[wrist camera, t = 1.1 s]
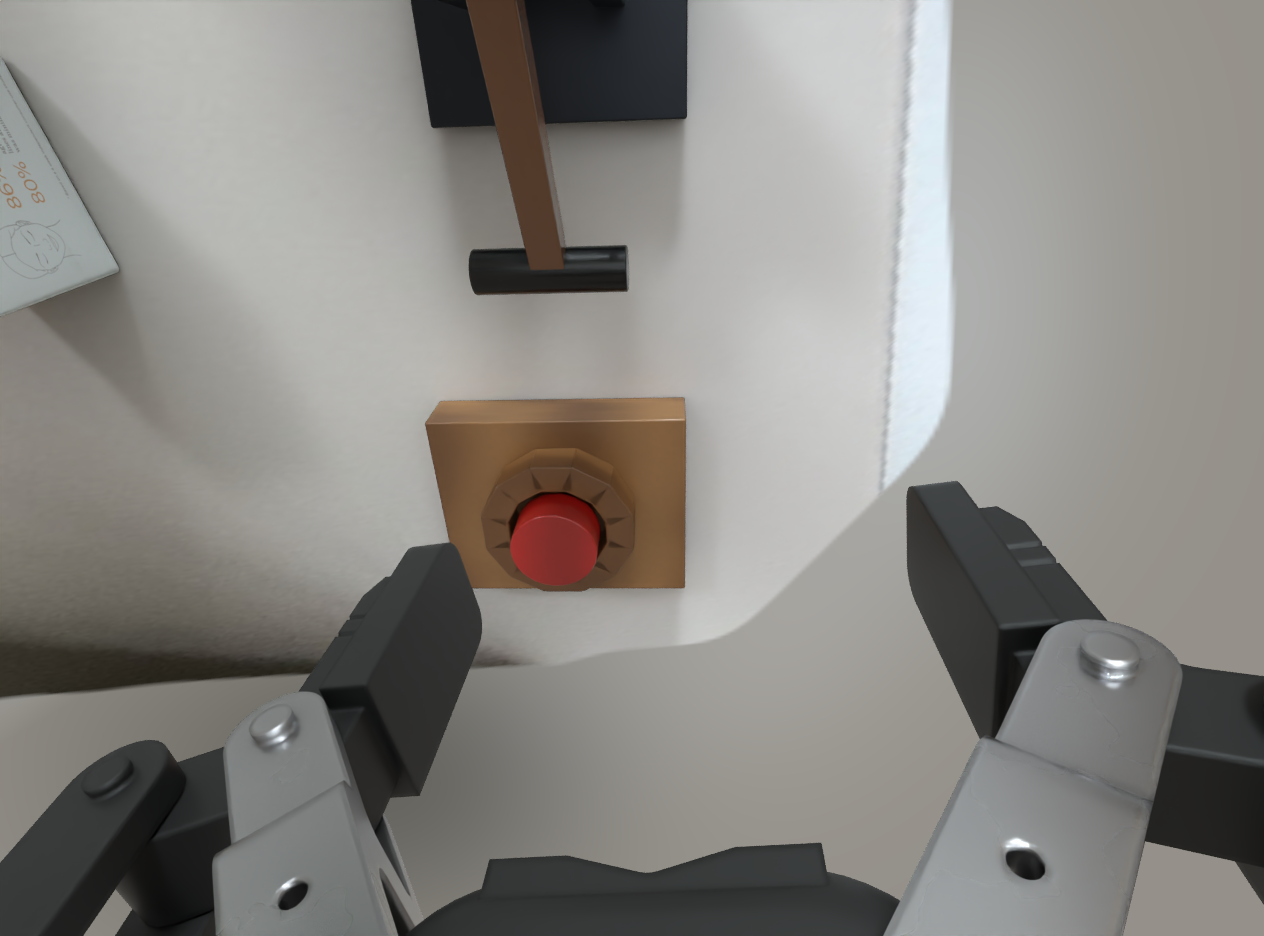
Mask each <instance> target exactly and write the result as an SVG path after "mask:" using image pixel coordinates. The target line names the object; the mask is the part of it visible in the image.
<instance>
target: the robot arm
mask: <svg viewBox="0 0 1264 936" xmlns="http://www.w3.org/2000/svg"><path fill="white" fill-rule="evenodd" d="M906 505H907V569H908V577H909V582H910V586H911V591H912V594H913V597H914V599H915V602H916V604H917V606H918V608H919V610H920V613H921V615H922V617H923V619H924V621H925V623H926V625H927V628H928V630H929V632H930V634H931V636H932V638H933V640H934V642H935V644H936V647H937V649H938V651H939V653H940V655H941V657H942V659H943V661H944V664H945V666H946V668H947V670H948V672H949V674H950V676H951V678H952V680H953V683H954V685H955V687H956V689H957V691H958V693H959V696H960V698H961V700H962V702H963V704H964V706H965V708H966V710H967V712H968V715H969V717H970V719H971V721H972V723H973V725H974V727H975V730H976V732H977V734H978V736H979V738H980V740H979V742H978V744H977V745H976V746H975V748H974V750H973V752H972V754H971V756H970V759H969V760H968V763H967V765H966V767H965V769H964V771H963V773H962V775H961V777H960V779H959V781H958V783H957V785H956V787H955V789H954V791H953V793H952V796H951V797H950V800H949V802H948V804H947V806H946V808H945V810H944V812H943V814H942V816H941V818H940V820H939V822H938V824H937V826H936V828H935V830H934V832H933V835H932V837H931V839H930V841H929V843H928V845H927V847H926V849H925V851H924V853H923V855H922V857H921V860H920V861H919V864H918V866H917V867H916V870H915V872H914V874H913V876H912V878H911V880H910V882H909V884H908V886H907V888H906V890H905V892H904V894H903V896H902V898H901V900H900V901H899V900H898V899H896V898H894V897H893V896H891V895H890V894H888V893H885V892H883V891H881V890H879V889H877V888H875V887H873V886H871V885H869V884H866V883H864V882H861V881H858V880H855V879H852V878H849V877H846V876H843V875H838V874H834V873H830V872H827V871H826V865H825V860H824V854H823V849H822V844H821V843H808V844H789V845H768V846H749V847H734V848H731V849H728V850H725V851H721V852H718V853H715V854H711V855H708V856H705V857H702V858H699V859H695V860H692V861H689V862H686V863H683V864H679V865H676V866H673V867H670V868H666V869H663V870H660V871H656V872H652V873H642V872H637V871H632V870H627V869H623V868H619V867H615V866H610V865H606V864H601V863H597V862H592V861H588V860H584V859H579V858H575V857H571V856H548V857H530V858H529V857H528V858H508V859H490V860H489V863H488V867H487V871H486V875H485V879H484V883H483V886H482V889H480V890H477V891H474V892H472V893H470V894H468V895H466V896H463V897H461V898H459V899H456V900H454V901H453V902H451V903H449V904H448V905H446V906H444V907H442V908H441V909H439V910H437V911H436V912H434V913H433V914H431V915H430V916H429V917H427V918H426V919H423V916H422V913H421V911H420V908H419V906H418V903H417V900H416V897H415V894H414V891H413V889H412V886H411V883H410V881H409V878H408V875H407V872H406V869H405V867H404V864H403V861H402V858H401V855H400V853H399V850H398V847H397V844H396V842H395V839H394V836H393V833H392V830H391V827H390V825H389V823H388V821H387V819H386V818H385V815H384V811H385V808H386V806H387V804H388V802H389V799H390V798H392V797H407V796H420V793H421V791H422V788H423V786H424V783H425V781H426V778H427V775H428V773H429V770H430V768H431V765H432V763H433V760H434V758H435V755H436V753H437V750H438V748H439V745H440V742H441V740H442V737H443V735H444V732H445V730H446V727H447V724H448V722H449V720H450V717H451V715H452V711H453V709H454V707H455V704H456V702H457V699H458V697H459V694H460V692H461V689H462V687H463V684H464V682H465V679H466V676H467V674H468V671H469V669H470V666H471V664H472V661H473V659H474V656H475V654H476V651H477V649H478V646H479V643H480V640H481V634H482V619H481V613H480V609H479V606H478V603H477V600H476V598H475V595H474V592H473V589H472V586H471V584H470V581H469V578H468V575H467V573H466V570H465V567H464V564H463V562H462V559H461V556H460V553H459V551H458V549H457V548H456V546H455V545H454V544H452V543H442V544H434V545H426V546H418V547H412V548H410V549H408V551H407V552H406V553H405V555H404V557H403V558H402V560H401V561H400V563H399V564H398V566H397V567H396V569H395V570H394V572H393V574H392V575H391V576H390V577H385V578H384V579H383V580H381V581H380V582H379V583H378V584H377V585H376V586H374V587H373V588H372V589H371V590H370V591H368V592H367V593H366V594H365V595H364V596H363V597H362V598H361V600H360V601H359V603H358V604H357V606H356V607H355V609H354V610H353V612H352V613H351V615H350V620H347V621H346V622H345V624H344V625H343V627H342V628H341V630H340V631H339V636H338V637H335V638H334V640H333V641H332V643H331V644H330V646H329V647H328V649H327V650H326V652H325V653H324V655H323V656H322V658H321V659H320V661H319V662H318V664H317V665H316V667H315V668H314V670H313V671H312V673H311V674H310V675H309V677H308V678H307V680H306V681H305V683H304V685H303V686H302V687H301V689H300V690H299V692H295V693H291V694H287V695H284V696H281V697H278V698H276V699H274V700H272V701H269V702H268V703H266V704H264V705H262V706H261V707H259V708H258V709H256V710H255V711H253V712H252V713H251V714H250V715H248V716H247V717H246V718H245V719H244V720H243V721H242V722H240V723H239V724H238V726H237V727H236V728H235V729H234V730H233V732H232V733H231V734H230V736H229V737H228V739H227V741H226V743H225V746H224V747H222V748H220V749H216V750H213V751H210V752H207V753H204V754H201V755H198V756H196V757H193V758H190V759H186V760H183V761H180V762H177V761H176V760H175V759H174V757H173V756H172V754H171V753H170V751H169V750H168V749H167V747H166V746H165V745H164V744H163V743H162V742H159V741H155V740H147V741H146V740H145V741H140V742H136V743H132V744H129V745H127V746H124V747H121V748H119V749H117V750H115V751H113V752H111V753H109V754H108V755H106V756H104V757H102V758H100V759H99V760H97V761H96V762H94V763H93V764H92V765H90V766H89V767H88V768H86V769H85V770H84V771H82V772H81V773H80V774H79V775H78V776H77V777H76V778H75V779H73V780H72V782H71V783H70V784H69V785H68V786H67V787H66V788H65V789H64V790H63V791H62V792H61V794H60V795H59V796H58V797H57V798H56V800H55V801H54V802H53V803H52V804H51V805H50V806H49V808H48V809H47V810H46V811H45V812H44V813H43V814H42V815H41V817H40V818H39V819H38V820H37V821H36V822H35V824H34V825H33V826H32V827H31V828H30V829H29V830H28V832H27V833H26V834H25V835H24V836H23V837H22V838H21V840H20V841H19V842H18V843H17V844H16V846H15V847H14V848H13V849H12V850H11V851H10V852H9V854H8V855H7V856H6V857H5V858H4V859H3V860H2V861H1V863H0V936H83V935H84V934H85V932H86V931H87V929H88V928H89V927H90V925H91V924H92V922H93V921H94V919H95V918H96V916H97V915H98V913H99V912H100V911H101V909H102V908H103V906H104V905H105V903H106V902H107V900H108V899H109V898H110V896H111V895H112V893H113V892H114V890H115V889H116V890H117V891H118V893H119V894H120V895H121V896H122V897H123V898H124V899H125V901H126V902H127V903H128V904H129V906H131V908H132V911H131V912H130V914H129V915H128V917H127V918H126V920H125V921H124V923H123V925H122V926H121V928H120V929H119V931H118V932H117V934H116V935H115V936H1123V932H1124V928H1125V924H1126V920H1127V916H1128V911H1129V907H1130V903H1131V898H1132V894H1133V890H1134V886H1135V882H1136V877H1137V873H1138V869H1139V865H1140V861H1141V856H1142V852H1143V848H1144V843H1145V841H1146V842H1151V843H1156V844H1160V845H1165V846H1169V847H1173V848H1178V849H1182V850H1187V851H1191V852H1196V853H1201V854H1205V855H1210V856H1214V857H1218V858H1223V859H1227V860H1232V861H1235V862H1236V863H1237V865H1238V867H1239V868H1240V870H1241V871H1242V873H1243V874H1244V876H1245V877H1246V879H1247V880H1248V882H1249V883H1250V885H1251V886H1252V888H1253V889H1254V891H1255V892H1256V894H1257V895H1258V897H1259V898H1260V900H1261V901H1262V903H1263V904H1264V676H1258V675H1249V674H1242V673H1234V672H1226V671H1219V670H1211V669H1203V668H1198V667H1191V666H1187V665H1183V664H1180V663H1179V662H1178V660H1177V658H1176V657H1175V656H1174V654H1173V653H1172V652H1171V651H1170V650H1169V649H1168V648H1166V646H1164V645H1163V644H1162V643H1161V642H1159V641H1158V640H1156V639H1155V638H1153V637H1151V636H1149V635H1148V634H1146V633H1144V632H1142V631H1139V630H1137V629H1134V628H1132V627H1129V626H1126V625H1122V624H1119V623H1114V622H1109V621H1107V620H1106V618H1105V617H1104V616H1103V615H1102V614H1101V613H1100V611H1099V610H1098V609H1097V608H1096V606H1095V605H1094V604H1093V603H1092V602H1091V600H1090V599H1089V598H1088V597H1087V596H1086V595H1085V593H1084V592H1083V591H1082V590H1081V588H1080V587H1079V586H1078V585H1077V584H1076V582H1075V581H1074V580H1073V579H1072V578H1071V576H1070V575H1069V574H1068V573H1067V572H1066V570H1065V569H1064V568H1063V567H1062V566H1061V564H1060V563H1056V559H1055V557H1054V556H1053V555H1052V554H1051V553H1050V551H1049V550H1048V549H1047V548H1046V546H1042V542H1041V540H1040V539H1039V538H1038V537H1037V536H1036V534H1035V533H1034V532H1033V531H1032V530H1031V528H1030V527H1029V526H1028V525H1027V524H1026V523H1025V522H1024V521H1023V520H1021V519H1019V518H1017V517H1015V516H1014V515H1012V514H1010V513H1008V512H1006V511H1004V510H1003V509H1001V508H999V507H997V506H995V507H987V508H978V507H977V505H976V504H975V503H974V501H973V500H972V499H971V497H970V496H969V495H968V493H967V492H966V490H965V489H964V488H963V486H962V485H961V484H960V483H959V482H958V481H951V482H944V483H935V484H928V485H920V486H911V487H909V488H908V491H907V504H906Z"/></svg>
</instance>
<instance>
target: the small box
mask: <svg viewBox="0 0 1264 936" xmlns="http://www.w3.org/2000/svg"><path fill="white" fill-rule="evenodd" d="M118 271H119V267H118V265H117V263H116V261H115V260H114V258H113V256H112V255H111V253H110V251H109V249H108V247H107V246H106V244H105V242H104V240H103V239H102V237H101V235H100V233H99V231H98V230H97V228H96V226H95V224H94V223H93V221H92V219H91V217H90V215H89V214H88V212H87V210H86V208H85V206H84V205H83V203H82V201H81V199H80V197H79V195H78V194H77V192H76V190H75V188H74V187H73V185H72V183H71V181H70V179H69V178H68V176H67V174H66V172H65V170H64V169H63V167H62V165H61V163H60V161H59V160H58V158H57V156H56V154H55V152H54V151H53V149H52V147H51V145H50V143H49V142H48V140H47V138H46V136H45V134H44V133H43V131H42V129H41V127H40V126H39V124H38V122H37V120H36V118H35V117H34V115H33V113H32V112H31V110H30V108H29V106H28V104H27V103H26V101H25V99H24V97H23V96H22V94H21V92H20V90H19V89H18V87H17V85H16V83H15V81H14V79H13V78H12V76H11V74H10V72H9V70H8V68H7V67H6V65H5V63H4V61H3V59H2V58H1V57H0V317H2V316H4V315H7V314H10V313H12V312H15V311H18V310H20V309H23V308H26V307H28V306H31V305H34V304H36V303H39V302H41V301H44V300H47V299H49V298H52V297H54V296H57V295H59V294H62V293H65V292H67V291H70V290H73V289H75V288H78V287H81V286H83V285H86V284H88V283H91V282H94V281H96V280H99V279H102V278H104V277H107V276H110V275H112V274H115V273H117V272H118Z"/></svg>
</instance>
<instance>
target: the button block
mask: <svg viewBox="0 0 1264 936" xmlns="http://www.w3.org/2000/svg"><path fill="white" fill-rule="evenodd" d="M425 426H426V430H427V435H428V440H429V445H430V450H431V455H432V459H433V464H434V469H435V474H436V479H437V484H438V488H439V493H440V498H441V503H442V508H443V513H444V517H445V522H446V527H447V532H448V537H449V542H450V543H452V544H454V545H455V546H456V548H457V549H458V551H459V553H460V556H461V559H462V562H463V564H464V567H465V570H466V573H467V575H468V578H469V581H470V584H471V586H472V588H538V589H540V590H543V591H585V590H587V589H589V588H684V587H685V499H686V413H685V399H684V398H623V399H556V400H489V401H441V402H439V404H438V405H437V407H436V408H435V410H434V411H433V412H432V414H431V415H430V417H429V418H428V420H427V421H426V423H425ZM552 493H559V494H567V495H570V496H573V497H576V498H578V499H580V500H582V501H583V502H584V503H586V504H587V505H588V506H589V507H590V508H591V509H592V510H593V511H594V513H595V514H596V516H597V518H598V520H599V524H600V539H599V546H598V553H597V559H596V563H595V565H594V567H593V569H592V570H591V571H590V573H589V574H588V575H587V576H585V577H584V578H583V579H581V580H579V581H577V582H575V583H572V584H568V585H562V586H552V585H546V584H542V583H539V582H536V581H534V580H532V579H530V578H529V577H527V576H526V575H525V574H523V573H522V572H521V571H520V570H519V569H518V567H517V566H516V565H515V563H514V561H513V559H512V556H511V552H510V542H511V539H512V535H513V532H514V529H515V526H516V523H517V520H518V517H519V514H520V512H521V511H522V509H523V508H524V506H525V505H526V504H527V503H529V502H530V501H531V500H533V499H534V498H537V497H539V496H542V495H545V494H552Z"/></svg>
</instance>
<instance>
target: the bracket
mask: <svg viewBox="0 0 1264 936" xmlns="http://www.w3.org/2000/svg"><path fill="white" fill-rule="evenodd" d="M524 3H525V9H526V15H527V21H528V26H529V32H530V38H531V44H532V50H533V56H534V62H535V67H536V73H537V79H538V85H539V91H540V97H541V102H542V108H543V114H544V120H545V124H553V123H581V122H608V121H636V120H663V119H685V118H686V117H687V0H524ZM411 5H412V11H413V17H414V23H415V29H416V35H417V42H418V48H419V54H420V60H421V66H422V72H423V79H424V85H425V91H426V97H427V103H428V109H429V115H430V122H431V126H432V127H433V128H442V127H470V126H496V125H495V120H494V116H493V112H492V108H491V104H490V100H489V95H488V91H487V87H486V83H485V79H484V74H483V70H482V66H481V62H480V58H479V53H478V49H477V45H476V41H475V37H474V32H473V28H472V24H471V20H470V16H469V11H468V7H467V3H466V0H411Z"/></svg>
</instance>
